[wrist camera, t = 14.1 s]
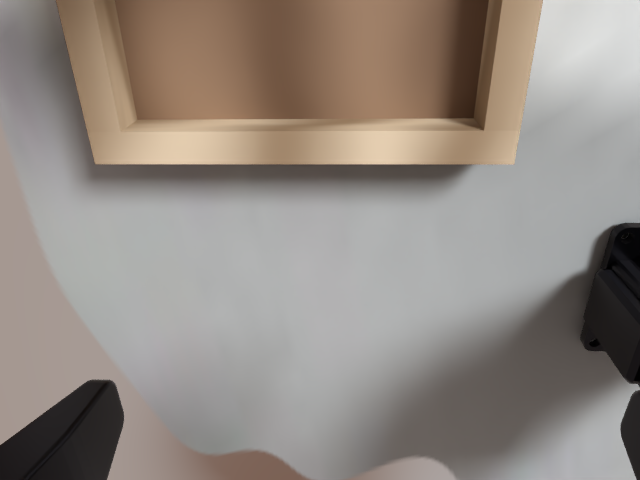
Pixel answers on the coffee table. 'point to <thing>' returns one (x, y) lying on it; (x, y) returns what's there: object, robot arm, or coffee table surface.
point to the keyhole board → (301, 79)
